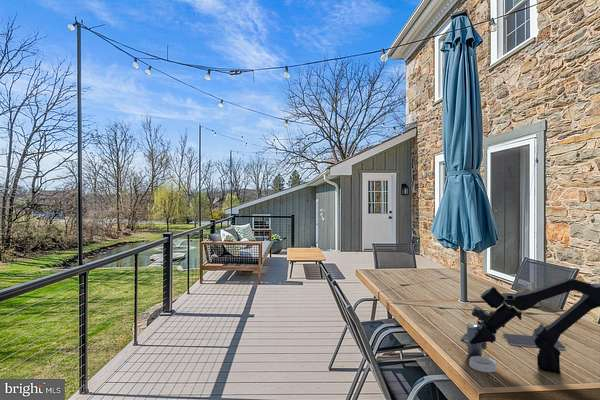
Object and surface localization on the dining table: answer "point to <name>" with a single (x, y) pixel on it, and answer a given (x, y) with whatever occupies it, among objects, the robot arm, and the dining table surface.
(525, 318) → the dining table surface
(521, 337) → the notebook
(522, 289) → the ceramic cottage
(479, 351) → the canister
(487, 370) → the collar
